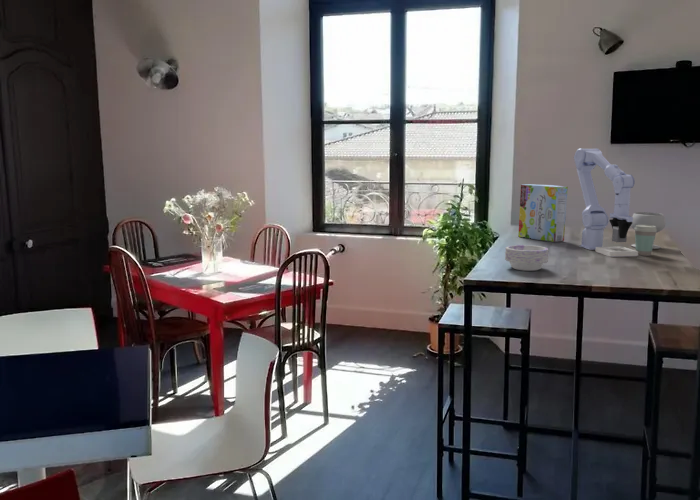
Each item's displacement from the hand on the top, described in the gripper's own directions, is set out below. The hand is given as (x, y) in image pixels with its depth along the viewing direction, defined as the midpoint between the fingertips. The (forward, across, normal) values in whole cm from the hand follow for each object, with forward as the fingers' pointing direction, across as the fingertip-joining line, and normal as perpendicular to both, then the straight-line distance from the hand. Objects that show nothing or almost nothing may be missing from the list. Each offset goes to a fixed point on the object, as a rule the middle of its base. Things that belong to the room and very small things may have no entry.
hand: (619, 237), depth 267 cm
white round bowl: (+8, +25, -50) cm, 56 cm away
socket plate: (+7, -2, 0) cm, 7 cm away
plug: (+2, 0, 0) cm, 2 cm away
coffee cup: (+7, +1, +10) cm, 13 cm away
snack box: (+7, -43, -15) cm, 46 cm away
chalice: (+7, -16, +22) cm, 28 cm away
